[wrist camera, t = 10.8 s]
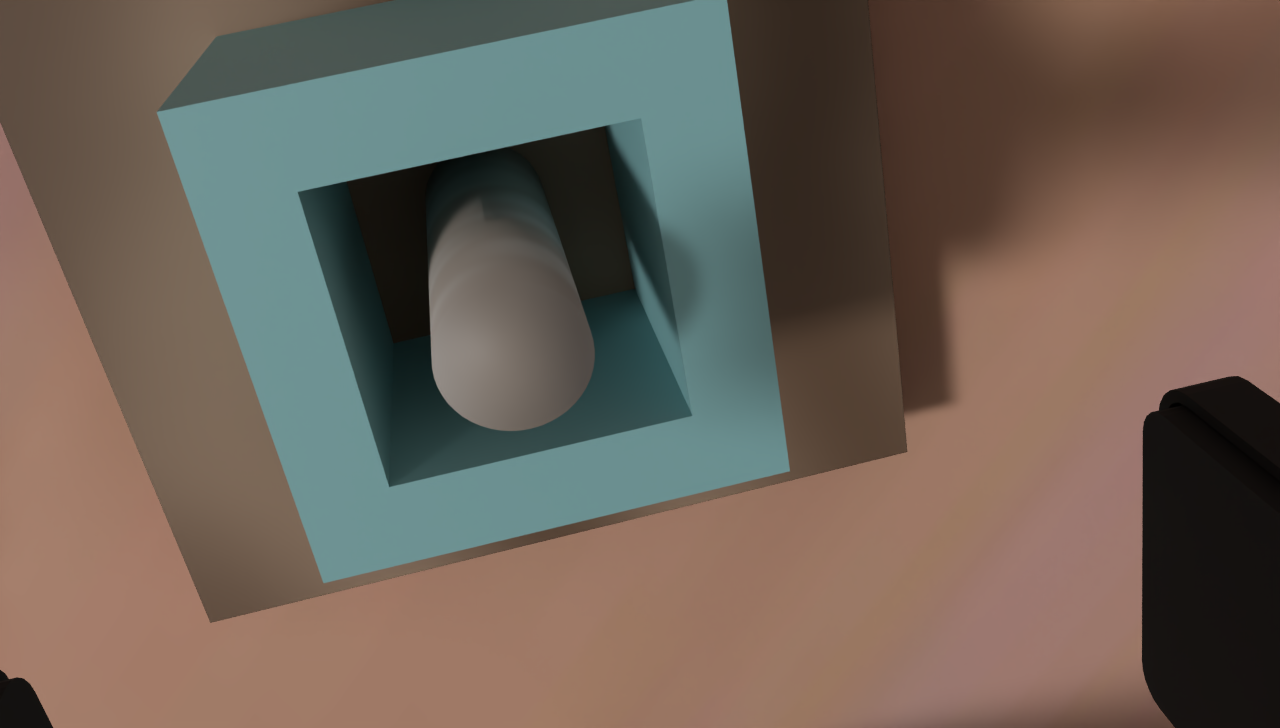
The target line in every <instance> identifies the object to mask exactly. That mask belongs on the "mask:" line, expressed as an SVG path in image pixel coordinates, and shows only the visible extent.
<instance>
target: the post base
mask: <svg viewBox="0 0 1280 728" xmlns="http://www.w3.org/2000/svg"><path fill="white" fill-rule="evenodd" d="M388 1H393V0H0V123H1V125H2V128H3V130H4V132H5V135H6V137H7V139H8V142H9V144H10V147H11V149H12V151H13V154H14V156H15V158H16V161H17V163H18V166H19V168H20V170H21V173H22V175H23V178H24V180H25V182H26V185H27V187H28V189H29V192H30V194H31V197H32V199H33V201H34V204H35V206H36V208H37V211H38V213H39V216H40V218H41V220H42V223H43V225H44V228H45V230H46V232H47V235H48V237H49V239H50V242H51V244H52V247H53V249H54V251H55V254H56V256H57V258H58V261H59V263H60V266H61V268H62V270H63V273H64V275H65V277H66V280H67V282H68V285H69V287H70V289H71V292H72V294H73V297H74V299H75V301H76V304H77V306H78V308H79V311H80V313H81V316H82V318H83V320H84V323H85V325H86V327H87V330H88V332H89V335H90V337H91V339H92V342H93V344H94V347H95V349H96V351H97V354H98V356H99V358H100V361H101V363H102V366H103V368H104V370H105V373H106V375H107V377H108V380H109V382H110V385H111V387H112V389H113V392H114V394H115V396H116V399H117V401H118V404H119V406H120V408H121V411H122V413H123V416H124V418H125V420H126V423H127V425H128V427H129V430H130V432H131V435H132V437H133V439H134V442H135V444H136V446H137V449H138V451H139V454H140V456H141V458H142V461H143V463H144V466H145V468H146V470H147V473H148V475H149V477H150V480H151V482H152V485H153V487H154V489H155V492H156V494H157V496H158V499H159V501H160V504H161V506H162V508H163V511H164V513H165V515H166V518H167V520H168V523H169V525H170V527H171V530H172V532H173V535H174V537H175V539H176V542H177V544H178V546H179V549H180V551H181V554H182V556H183V558H184V561H185V563H186V565H187V568H188V570H189V573H190V575H191V577H192V580H193V582H194V584H195V587H196V589H197V592H198V594H199V596H200V599H201V601H202V604H203V606H204V608H205V611H206V613H207V615H208V618H209V620H210V623H212V622H216V621H220V620H224V619H228V618H232V617H236V616H240V615H244V614H248V613H253V612H257V611H261V610H265V609H269V608H273V607H277V606H281V605H285V604H289V603H293V602H297V601H301V600H305V599H310V598H314V597H318V596H322V595H326V594H330V593H334V592H338V591H342V590H346V589H350V588H354V587H358V586H363V585H367V584H371V583H375V582H379V581H383V580H387V579H391V578H395V577H399V576H403V575H407V574H411V573H416V572H420V571H424V570H428V569H432V568H436V567H440V566H444V565H448V564H452V563H456V562H460V561H464V560H469V559H473V558H477V557H481V556H485V555H489V554H493V553H497V552H501V551H505V550H509V549H513V548H517V547H522V546H526V545H530V544H534V543H538V542H542V541H546V540H550V539H554V538H558V537H562V536H566V535H570V534H575V533H579V532H583V531H587V530H591V529H595V528H599V527H603V526H607V525H611V524H615V523H619V522H623V521H627V520H632V519H636V518H640V517H644V516H648V515H652V514H656V513H660V512H664V511H668V510H672V509H676V508H680V507H685V506H689V505H693V504H697V503H701V502H705V501H709V500H713V499H717V498H721V497H725V496H729V495H733V494H738V493H742V492H746V491H750V490H754V489H758V488H762V487H766V486H770V485H774V484H778V483H782V482H786V481H791V480H795V479H799V478H803V477H807V476H811V475H815V474H819V473H823V472H827V471H831V470H835V469H839V468H844V467H848V466H852V465H856V464H860V463H864V462H868V461H872V460H876V459H880V458H884V457H888V456H892V455H896V454H901V453H905V452H907V443H906V431H905V420H904V408H903V397H902V386H901V374H900V363H899V351H898V340H897V328H896V317H895V306H894V294H893V283H892V271H891V260H890V248H889V237H888V225H887V214H886V203H885V191H884V180H883V168H882V157H881V145H880V134H879V123H878V111H877V100H876V88H875V77H874V65H873V54H872V43H871V31H870V20H869V8H868V0H727V4H728V12H729V19H730V27H731V34H732V42H733V49H734V57H735V64H736V71H737V79H738V86H739V94H740V101H741V109H742V116H743V124H744V131H745V139H746V146H747V154H748V161H749V169H750V176H751V184H752V191H753V199H754V206H755V213H756V221H757V228H758V236H759V243H760V251H761V258H762V266H763V273H764V281H765V288H766V296H767V303H768V311H769V318H770V326H771V333H772V341H773V348H774V355H775V363H776V370H777V378H778V385H779V393H780V400H781V408H782V415H783V423H784V430H785V438H786V445H787V453H788V460H789V468H790V471H789V472H784V473H780V474H776V475H772V476H768V477H764V478H759V479H755V480H751V481H747V482H743V483H739V484H735V485H730V486H726V487H722V488H718V489H714V490H710V491H705V492H701V493H697V494H693V495H689V496H685V497H680V498H676V499H672V500H668V501H664V502H660V503H656V504H651V505H647V506H643V507H639V508H635V509H631V510H626V511H622V512H618V513H614V514H610V515H606V516H601V517H597V518H593V519H589V520H585V521H581V522H577V523H572V524H568V525H564V526H560V527H556V528H552V529H547V530H543V531H539V532H535V533H531V534H527V535H522V536H518V537H514V538H510V539H506V540H502V541H497V542H493V543H489V544H485V545H481V546H477V547H473V548H468V549H464V550H460V551H456V552H452V553H448V554H443V555H439V556H435V557H431V558H427V559H423V560H418V561H414V562H410V563H406V564H402V565H398V566H394V567H389V568H385V569H381V570H377V571H373V572H369V573H364V574H360V575H356V576H352V577H348V578H344V579H339V580H335V581H331V582H327V583H323V580H322V577H321V575H320V572H319V569H318V566H317V563H316V560H315V558H314V555H313V552H312V549H311V546H310V544H309V541H308V538H307V535H306V532H305V529H304V527H303V524H302V521H301V518H300V515H299V512H298V510H297V507H296V504H295V501H294V498H293V496H292V493H291V490H290V487H289V484H288V481H287V479H286V476H285V473H284V470H283V467H282V465H281V462H280V459H279V456H278V453H277V450H276V448H275V445H274V442H273V439H272V436H271V433H270V431H269V428H268V425H267V422H266V419H265V417H264V414H263V411H262V408H261V405H260V402H259V400H258V397H257V394H256V391H255V388H254V385H253V383H252V380H251V377H250V374H249V371H248V369H247V366H246V363H245V360H244V357H243V354H242V352H241V349H240V346H239V343H238V340H237V338H236V335H235V332H234V329H233V326H232V323H231V321H230V318H229V315H228V312H227V309H226V306H225V304H224V301H223V298H222V295H221V292H220V290H219V287H218V284H217V281H216V278H215V275H214V273H213V270H212V267H211V264H210V261H209V258H208V256H207V253H206V250H205V247H204V244H203V242H202V239H201V236H200V233H199V230H198V227H197V225H196V222H195V219H194V216H193V213H192V210H191V208H190V205H189V202H188V199H187V196H186V194H185V191H184V188H183V185H182V182H181V179H180V177H179V174H178V171H177V168H176V165H175V163H174V160H173V157H172V154H171V151H170V148H169V146H168V143H167V140H166V137H165V134H164V131H163V129H162V126H161V123H160V120H159V117H158V115H157V111H158V110H159V108H160V107H161V106H162V105H163V103H164V102H165V101H166V100H167V98H168V97H169V96H170V94H171V93H172V92H173V91H174V89H175V88H176V87H177V86H178V84H179V83H180V82H181V81H182V79H183V78H184V77H185V76H186V74H187V73H188V72H189V70H190V69H191V68H192V67H193V65H194V64H195V63H196V62H197V60H198V59H199V58H200V57H201V55H202V54H203V53H204V52H205V50H206V49H207V48H208V46H209V45H210V44H211V43H212V41H213V40H214V39H215V38H216V36H221V35H226V34H231V33H236V32H241V31H246V30H251V29H256V28H261V27H265V26H270V25H275V24H280V23H285V22H290V21H295V20H300V19H305V18H310V17H315V16H319V15H324V14H329V13H334V12H339V11H344V10H349V9H354V8H359V7H364V6H369V5H373V4H378V3H383V2H388ZM347 185H348V188H349V192H350V195H351V199H352V202H353V206H354V209H355V212H356V216H357V219H358V223H359V226H360V230H361V233H362V237H363V240H364V243H365V247H366V250H367V254H368V257H369V261H370V264H371V268H372V271H373V274H374V278H375V281H376V285H377V288H378V292H379V295H380V299H381V302H382V305H383V309H384V312H385V316H386V319H387V323H388V326H389V330H390V333H391V336H392V340H393V343H397V342H401V341H406V340H410V339H415V338H419V337H423V336H428V335H431V357H432V370H433V375H434V379H435V382H436V384H437V387H438V389H439V391H440V393H441V394H442V396H443V397H444V399H445V400H446V402H447V403H448V404H449V405H450V406H451V407H452V408H453V409H454V410H455V411H456V412H457V413H459V414H460V415H461V416H462V417H464V418H466V419H467V420H469V421H471V422H473V423H475V424H478V425H480V426H483V427H486V428H490V429H495V430H501V431H520V430H526V429H532V428H535V427H538V426H542V425H544V424H546V423H549V422H551V421H553V420H554V419H556V418H558V417H560V416H561V415H562V414H564V413H565V412H566V411H568V410H569V409H570V408H571V407H572V406H573V405H574V404H575V403H576V402H577V400H578V399H579V398H580V397H581V396H582V394H583V392H584V391H585V389H586V387H587V385H588V383H589V381H590V379H591V375H592V372H593V368H594V361H595V348H594V341H593V337H592V334H591V330H590V327H589V324H588V321H587V318H586V315H585V312H584V309H583V306H582V303H581V301H583V300H587V299H592V298H596V297H601V296H605V295H609V294H614V293H618V292H623V291H627V290H632V289H635V286H634V281H633V276H632V270H631V265H630V260H629V254H628V249H627V244H626V238H625V233H624V227H623V222H622V217H621V211H620V206H619V201H618V195H617V190H616V185H615V179H614V174H613V168H612V163H611V158H610V152H609V147H608V142H607V136H606V131H605V126H602V127H597V128H593V129H588V130H583V131H579V132H574V133H569V134H565V135H560V136H555V137H551V138H546V139H541V140H537V141H532V142H527V143H523V144H518V145H513V146H509V147H504V148H499V149H495V150H490V151H486V152H481V153H476V154H472V155H467V156H462V157H458V158H453V159H448V160H444V161H439V162H434V163H430V164H425V165H420V166H416V167H411V168H406V169H402V170H397V171H392V172H388V173H383V174H378V175H374V176H369V177H364V178H360V179H355V180H350V181H347Z"/></svg>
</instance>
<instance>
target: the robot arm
mask: <svg viewBox="0 0 1280 728" xmlns="http://www.w3.org/2000/svg"><path fill="white" fill-rule="evenodd" d="M1142 664H1143V672H1144V676H1145V680H1146V683H1147V685H1148V688H1149V691H1150V693H1151V695H1152V697H1153V699H1154V701H1155V702H1156V704H1157V705H1158V707H1159V708H1160V709H1161V711H1162V712H1163V713H1164V714H1165V716H1166V717H1167V718H1168V719H1169V721H1170V722H1171V723H1172V724H1173V726H1174V727H1175V728H1280V403H1279V402H1277V401H1276V400H1274V399H1273V398H1272V397H1270V396H1269V395H1267V394H1266V393H1264V392H1263V391H1262V390H1260V389H1259V388H1257V387H1256V386H1255V385H1253V384H1252V383H1250V382H1249V381H1247V380H1245V379H1243V378H1241V377H1239V376H1231V377H1226V378H1221V379H1217V380H1213V381H1209V382H1204V383H1200V384H1196V385H1191V386H1187V387H1183V388H1178V389H1174V390H1170V391H1169V392H1167V393H1166V394H1165V395H1164V396H1163V398H1162V400H1161V403H1160V406H1159V411H1155V412H1151V413H1150V414H1149V415H1147V416H1146V419H1145V421H1144V426H1143V548H1142ZM0 728H53V727H52V725H51V723H50V721H49V719H48V717H47V715H46V713H45V711H44V709H43V707H42V705H41V703H40V701H39V699H38V697H37V695H36V693H35V691H34V690H33V688H32V686H31V685H30V684H29V683H28V682H27V681H26V680H25V679H23V678H13V679H8V677H7V676H6V674H5V673H4V672H2V671H1V670H0Z"/></svg>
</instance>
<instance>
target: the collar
mask: <svg viewBox="0 0 1280 728" xmlns="http://www.w3.org/2000/svg"><path fill="white" fill-rule="evenodd" d="M157 115H158V117H159V120H160V123H161V126H162V129H163V131H164V134H165V137H166V140H167V143H168V146H169V148H170V151H171V154H172V157H173V160H174V163H175V165H176V168H177V171H178V174H179V177H180V179H181V182H182V185H183V188H184V191H185V194H186V196H187V199H188V202H189V205H190V208H191V210H192V213H193V216H194V219H195V222H196V225H197V227H198V230H199V233H200V236H201V239H202V242H203V244H204V247H205V250H206V253H207V256H208V258H209V261H210V264H211V267H212V270H213V273H214V275H215V278H216V281H217V284H218V287H219V290H220V292H221V295H222V298H223V301H224V304H225V306H226V309H227V312H228V315H229V318H230V321H231V323H232V326H233V329H234V332H235V335H236V338H237V340H238V343H239V346H240V349H241V352H242V354H243V357H244V360H245V363H246V366H247V369H248V371H249V374H250V377H251V380H252V383H253V385H254V388H255V391H256V394H257V397H258V400H259V402H260V405H261V408H262V411H263V414H264V417H265V419H266V422H267V425H268V428H269V431H270V433H271V436H272V439H273V442H274V445H275V448H276V450H277V453H278V456H279V459H280V462H281V465H282V467H283V470H284V473H285V476H286V479H287V481H288V484H289V487H290V490H291V493H292V496H293V498H294V501H295V504H296V507H297V510H298V512H299V515H300V518H301V521H302V524H303V527H304V529H305V532H306V535H307V538H308V541H309V544H310V546H311V549H312V552H313V555H314V558H315V560H316V563H317V566H318V569H319V572H320V575H321V577H322V580H323V583H327V582H331V581H335V580H339V579H344V578H348V577H352V576H356V575H360V574H364V573H369V572H373V571H377V570H381V569H385V568H389V567H394V566H398V565H402V564H406V563H410V562H414V561H418V560H423V559H427V558H431V557H435V556H439V555H443V554H448V553H452V552H456V551H460V550H464V549H468V548H473V547H477V546H481V545H485V544H489V543H493V542H497V541H502V540H506V539H510V538H514V537H518V536H522V535H527V534H531V533H535V532H539V531H543V530H547V529H552V528H556V527H560V526H564V525H568V524H572V523H577V522H581V521H585V520H589V519H593V518H597V517H601V516H606V515H610V514H614V513H618V512H622V511H626V510H631V509H635V508H639V507H643V506H647V505H651V504H656V503H660V502H664V501H668V500H672V499H676V498H680V497H685V496H689V495H693V494H697V493H701V492H705V491H710V490H714V489H718V488H722V487H726V486H730V485H735V484H739V483H743V482H747V481H751V480H755V479H759V478H764V477H768V476H772V475H776V474H780V473H784V472H789V471H790V468H789V460H788V453H787V445H786V438H785V430H784V423H783V415H782V408H781V400H780V393H779V385H778V378H777V370H776V363H775V355H774V348H773V341H772V333H771V326H770V318H769V311H768V303H767V296H766V288H765V281H764V273H763V266H762V258H761V251H760V243H759V236H758V228H757V221H756V213H755V206H754V199H753V191H752V184H751V176H750V169H749V161H748V154H747V146H746V139H745V131H744V124H743V116H742V109H741V101H740V94H739V86H738V79H737V71H736V64H735V57H734V49H733V42H732V34H731V27H730V19H729V12H728V4H727V0H393V1H388V2H383V3H378V4H373V5H369V6H364V7H359V8H354V9H349V10H344V11H339V12H334V13H329V14H324V15H319V16H315V17H310V18H305V19H300V20H295V21H290V22H285V23H280V24H275V25H270V26H265V27H261V28H256V29H251V30H246V31H241V32H236V33H231V34H226V35H221V36H216V38H215V39H214V40H213V41H212V43H211V44H210V45H209V46H208V48H207V49H206V50H205V52H204V53H203V54H202V55H201V57H200V58H199V59H198V60H197V62H196V63H195V64H194V65H193V67H192V68H191V69H190V70H189V72H188V73H187V74H186V76H185V77H184V78H183V79H182V81H181V82H180V83H179V84H178V86H177V87H176V88H175V89H174V91H173V92H172V93H171V94H170V96H169V97H168V98H167V100H166V101H165V102H164V103H163V105H162V106H161V107H160V108H159V110H158V111H157ZM602 126H605V131H606V136H607V142H608V147H609V152H610V158H611V163H612V168H613V174H614V179H615V185H616V190H617V195H618V201H619V206H620V211H621V217H622V222H623V227H624V233H625V238H626V244H627V249H628V254H629V260H630V265H631V270H632V276H633V281H634V286H635V289H632V290H627V291H623V292H618V293H614V294H609V295H605V296H601V297H596V298H592V299H587V300H583V301H581V303H582V306H583V309H584V312H585V315H586V318H587V321H588V324H589V327H590V330H591V334H592V337H593V341H594V348H595V361H594V368H593V372H592V375H591V379H590V381H589V383H588V385H587V387H586V389H585V391H584V392H583V394H582V396H581V397H580V398H579V399H578V400H577V402H576V403H575V404H574V405H573V406H572V407H571V408H570V409H569V410H568V411H566V412H565V413H564V414H562V415H561V416H560V417H558V418H556V419H554V420H553V421H551V422H549V423H546V424H544V425H542V426H538V427H535V428H532V429H526V430H520V431H501V430H495V429H490V428H486V427H483V426H480V425H478V424H475V423H473V422H471V421H469V420H467V419H466V418H464V417H462V416H461V415H460V414H459V413H457V412H456V411H455V410H454V409H453V408H452V407H451V406H450V405H449V404H448V403H447V402H446V400H445V399H444V397H443V396H442V394H441V393H440V391H439V389H438V387H437V384H436V382H435V379H434V375H433V370H432V357H431V335H428V336H423V337H419V338H415V339H410V340H406V341H401V342H397V343H393V340H392V336H391V333H390V330H389V326H388V323H387V319H386V316H385V312H384V309H383V305H382V302H381V299H380V295H379V292H378V288H377V285H376V281H375V278H374V274H373V271H372V268H371V264H370V261H369V257H368V254H367V250H366V247H365V243H364V240H363V237H362V233H361V230H360V226H359V223H358V219H357V216H356V212H355V209H354V206H353V202H352V199H351V195H350V192H349V188H348V185H347V181H350V180H355V179H360V178H364V177H369V176H374V175H378V174H383V173H388V172H392V171H397V170H402V169H406V168H411V167H416V166H420V165H425V164H430V163H434V162H439V161H444V160H448V159H453V158H458V157H462V156H467V155H472V154H476V153H481V152H486V151H490V150H495V149H499V148H504V147H509V146H513V145H518V144H523V143H527V142H532V141H537V140H541V139H546V138H551V137H555V136H560V135H565V134H569V133H574V132H579V131H583V130H588V129H593V128H597V127H602Z"/></svg>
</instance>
